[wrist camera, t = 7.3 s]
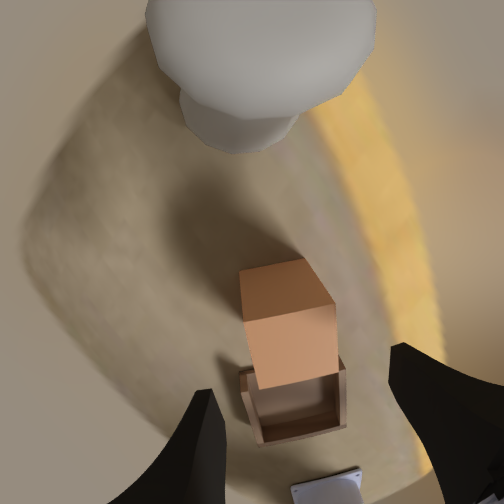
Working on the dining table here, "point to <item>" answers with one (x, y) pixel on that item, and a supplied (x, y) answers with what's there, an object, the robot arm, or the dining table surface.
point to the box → (295, 407)
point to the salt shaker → (257, 62)
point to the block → (288, 323)
